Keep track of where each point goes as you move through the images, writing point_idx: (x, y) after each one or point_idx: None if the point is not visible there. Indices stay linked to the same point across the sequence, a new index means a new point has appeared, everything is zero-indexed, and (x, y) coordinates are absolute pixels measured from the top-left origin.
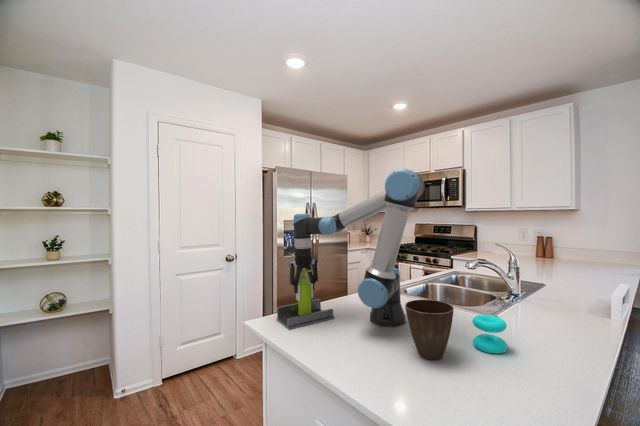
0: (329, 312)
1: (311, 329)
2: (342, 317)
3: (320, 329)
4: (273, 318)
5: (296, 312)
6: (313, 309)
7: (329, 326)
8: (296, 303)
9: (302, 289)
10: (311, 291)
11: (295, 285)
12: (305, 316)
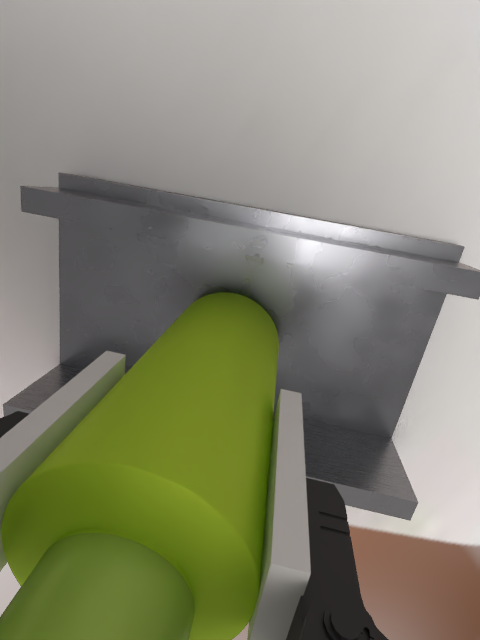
0: (69, 192)
1: (333, 121)
2: (4, 150)
3: (282, 63)
4: None
5: None
6: None
7: (188, 63)
8: None
9: (232, 468)
10: (79, 401)
11: (368, 629)
12: (307, 238)
